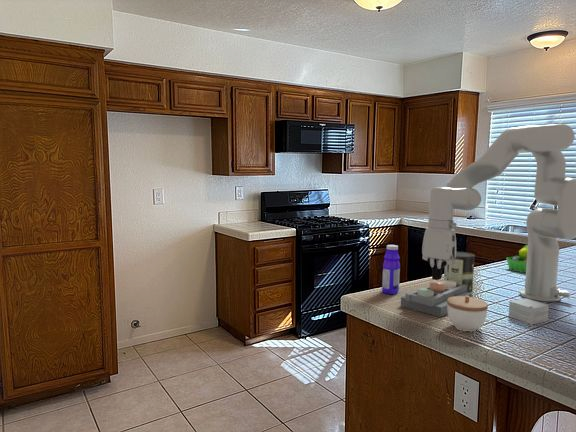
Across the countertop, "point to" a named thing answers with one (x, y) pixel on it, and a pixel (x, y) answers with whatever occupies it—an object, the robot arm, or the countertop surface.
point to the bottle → (391, 270)
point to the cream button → (449, 283)
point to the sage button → (425, 292)
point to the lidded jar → (466, 312)
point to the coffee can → (461, 270)
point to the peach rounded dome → (437, 286)
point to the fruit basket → (519, 260)
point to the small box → (528, 311)
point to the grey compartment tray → (433, 300)
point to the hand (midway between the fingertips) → (436, 279)
